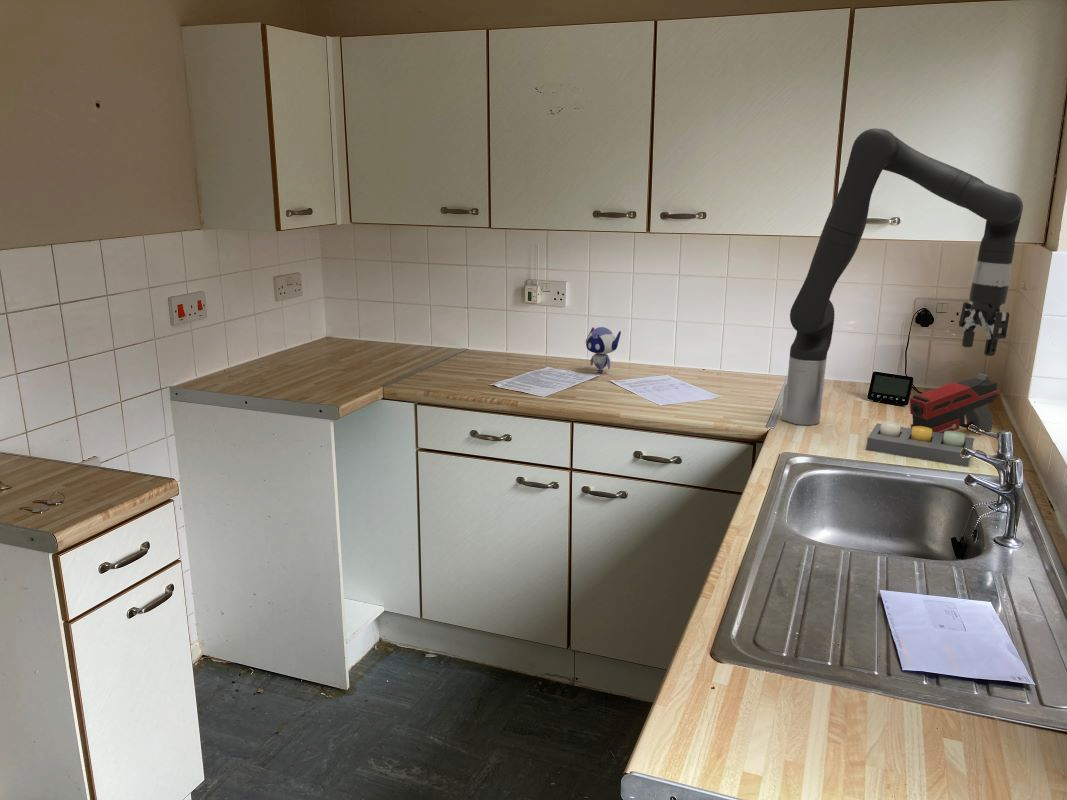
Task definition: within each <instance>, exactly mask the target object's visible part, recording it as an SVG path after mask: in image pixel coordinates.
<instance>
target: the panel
mask: <svg viewBox="0 0 1067 800" xmlns="http://www.w3.org/2000/svg"><path fill="white" fill-rule="evenodd" d="M880 429H881V423H876V424H875V426H874V427H873V428H872V430H871V432H870V433H869V435H868V436H867V439H866V446H865V450H866V451H870V452H871V451H872V452H877V453H878V452H879V453H882V454H883V453H885V454H890V455H895V456H902V457H907V458H912V459H920V460H926V461H932V462H936V461H938V463H942V462H944V464H948V463H951V464H950V465H954V464H955V465H956V466H960V465H962V467H966V466H968V467H969V464H970V460H971V457H970V458H962V457H961V456H960V451H961V449H962V448H967V449H970V450H972V451H973V447H974V442H975V438H974V437H969V436H965V439H964V445H963V447H956V446H950V445H944V444H943V438H944V433H938V432H932V436H931V442H925V441H919V440H912V439H911V433H912V428H911V427H903V426H901V427H900V435H899V437H893V436H887V435H881V434H880ZM955 465H954V466H955Z"/></svg>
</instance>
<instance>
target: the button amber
mask: <svg viewBox="0 0 1067 800" xmlns="http://www.w3.org/2000/svg"><path fill="white" fill-rule="evenodd" d="M931 436H932V429H931V428H928V427H924V426H913V427H912V433H911V439H912V440H919V441H925V442H931Z"/></svg>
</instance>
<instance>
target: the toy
mask: <svg viewBox="0 0 1067 800" xmlns="http://www.w3.org/2000/svg"><path fill="white" fill-rule="evenodd" d="M588 333H589V334H588V335H587V337H586V339H585V346H586V350H588V351H590V352H591V353H594V354H593V355H592V356H591V359H590V366H591V367H592V366H593V364H594V366H595V367H596V368H597V372H598V373H599V374H602V373H603V372H604V370H603V369H605V367H607V369H608V370H610V369H611V364H612V363H611V362H612V361H611V359H610V356H609V355H608V354H611V353H613V352H615V351H616V350H617V349H618V346H619V342H620V338H621V333H622V331H621V330H620V331H618V333H617V334H616V336H615V334H614V333H613V332H612V331H611V330H610V329H609V328H607V327H604V326H599V327H596V328H595V327H594V326H593V327H591V330H590V331H589V332H588Z"/></svg>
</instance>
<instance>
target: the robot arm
mask: <svg viewBox="0 0 1067 800" xmlns="http://www.w3.org/2000/svg"><path fill="white" fill-rule="evenodd" d="M882 171H887V172H890V173H894V174H896V175H900V176H902V177H904V178H906V179H909V180H910V181H912V182H914V183H916V184H917V185H918V186H920V187H923V188H924V189H925V190H927V191H928V192H930V193H932V194H934V195H935V196H937V197H939V198H941V199H943V200H946V201H947V202H950V203H951V204H953V205H956V206H958V207H962V208H964V209H966V210H968V211H970V212H972V213H974V214H975V215H976V216H978V217H980V218H982V219H984V220H985V226H984V232H983V233H984V234H983V236H982V238H981V241H980V245H979V247H978V248H979V249H978V254H977V260H976V265H975V267H974V270H973V276H972V280H971V286H970V292H969V297H968V298H969V299H968V300H969V301H970V302H969V301H967V302H966V301H965V302H963V304H962V308H961V313H960V318H959V322H958V326H959V328H960V327H961V328H962V331H963V336H962V337H963V338H962V343H961V345H962V347H964V348H972V347H973V344H974V338H975V333H976V332H975V331H976V330H977V329H978V328H979V326H980V327H982V330H983V331H984V332H985V335H986V338H987V339H986V341H985V346H984V352H983V354H984V355H985V356H987V357H992V356H995V354H996V352H997V345H998V341H999V340H1001V339H1003V340H1004V339H1006V338H1007V332H1008V327H1009V320H1010V313H1009V312H1006V311H1001V306H1002V305H1004V304H1006V303H1007V301H1006V300H1007V297H1008V292H1009V287H1010V280H1011V275H1012V263H1013V259H1014V254H1015V247H1016V238H1017V233H1018V230H1019V227H1020V223H1021V218H1022V214H1023V210H1024V204H1023V201H1022V199H1021V197H1020V196H1019V195H1018V194H1016V193H1014V192H1010V191H1009V192H1008V191H1005V190H1004V189H1003V190H1002V189H1000V188H998V187H996V186H993V185H990V184H988V183H986V182H984V181H983V180H982V179H980V178H979V177H977V176H975V175H972V174H971V173H969V172H967V171H964V170H962V169H959V168H957V167H956V166H955V167H954V166H952V165H950V164H947V163H945V162H942V161H940V160H937V159H936V158H932V157H930V156H928V155H926V154H924V153H922V152H920V151H919V150H916V149H914V148H913V147H911V146H910V145H909V144H906V143H905V142H904V141H903V140H902V139H899V138H898V137H897V136H896V135H894V133H892V132H891V131H889V130H887V129H884V128H869V129H865V130H864V131H863V132H861V133H860V134H859V135H857V137H856V138H855V139H854V142H853V144H852V146H851V150H850V155H849V157H848V163H847V166H846V170H845V173H844V177H843V179H842V182H841V186H840V189H839V191H838V192H837V194H836V197H835V199H834V201H833V204H832V206H831V209H830V211H829V213H828V216H827V218H826V220H825V224H824V226H823V228H822V230H821V234H820V237H819V240H818V243H817V246H816V249H815V250H814V251H815V252H814V254H813V257H812V260H811V262H810V266H809V269H808V273H807V275H806V277H805V279H804V282H803V284H802V286H801V288H800V289H799V292H798V294H797V296H796V297H795V300H794V301H793V304H792V306H791V309H790V311H789V320H790V324H791V326H792V328H793V329H794V331H796V334H795V338H794V339H793V342H792V344H791V346H790V350H789V357H788V358H789V360H788V370H787V380H786V384H784V388H783V389H784V390H783V396H782V397H783V399H782V406H781V407H782V409H781V418H780V419H781V421H785V422H787V423H790V424H795V425H802V426H814V425H818V424H819V423H820V421H821V410H822V403H823V396H824V395H823V394H824V393H823V392H824V385H825V376H826V375H825V374H826V369H827V368H826V367H827V358H828V353H829V349H830V347H831V343H832V337H833V330H834V325H835V323H834V322H835V307H834V304H833V302H832V301H831V300H830V299H831V295H832V293H833V290H834V288H835V286H836V284H837V282H838V280H839V278H840V277H841V276H842V274H843V273H844V271H845V270H846V268H847V267H848V266H849V264H850V262H851V261H852V259H853V257H854V255H855V254H856V251H857V249H858V248H859V244H860V242H861V239H862V236H863V234H864V232H865V228H866V226H867V221H868V215H869V209H870V202H871V199H872V198H871V197H872V194H873V191H874V189H875V187H876V185H877V182H878V180H879V178H880V175H881V173H882ZM966 318H967V319H966ZM965 319H966V320H965ZM1000 329H1001V330H1000Z"/></svg>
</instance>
